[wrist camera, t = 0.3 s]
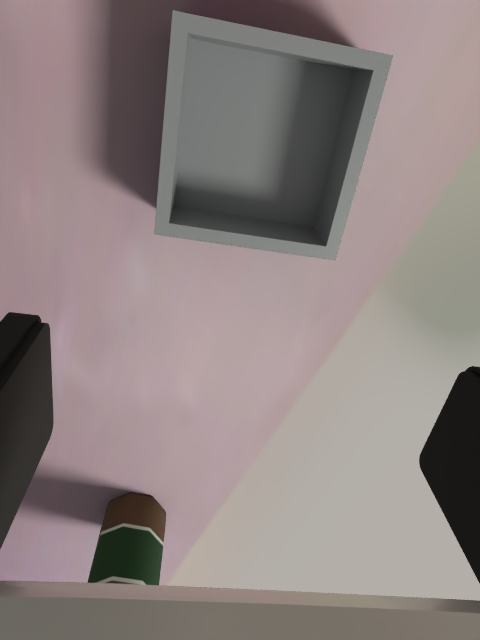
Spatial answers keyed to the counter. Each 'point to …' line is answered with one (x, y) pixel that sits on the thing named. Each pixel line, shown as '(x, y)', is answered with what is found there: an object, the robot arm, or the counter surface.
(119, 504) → the beer bottle
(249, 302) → the counter surface
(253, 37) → the bin
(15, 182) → the counter surface
